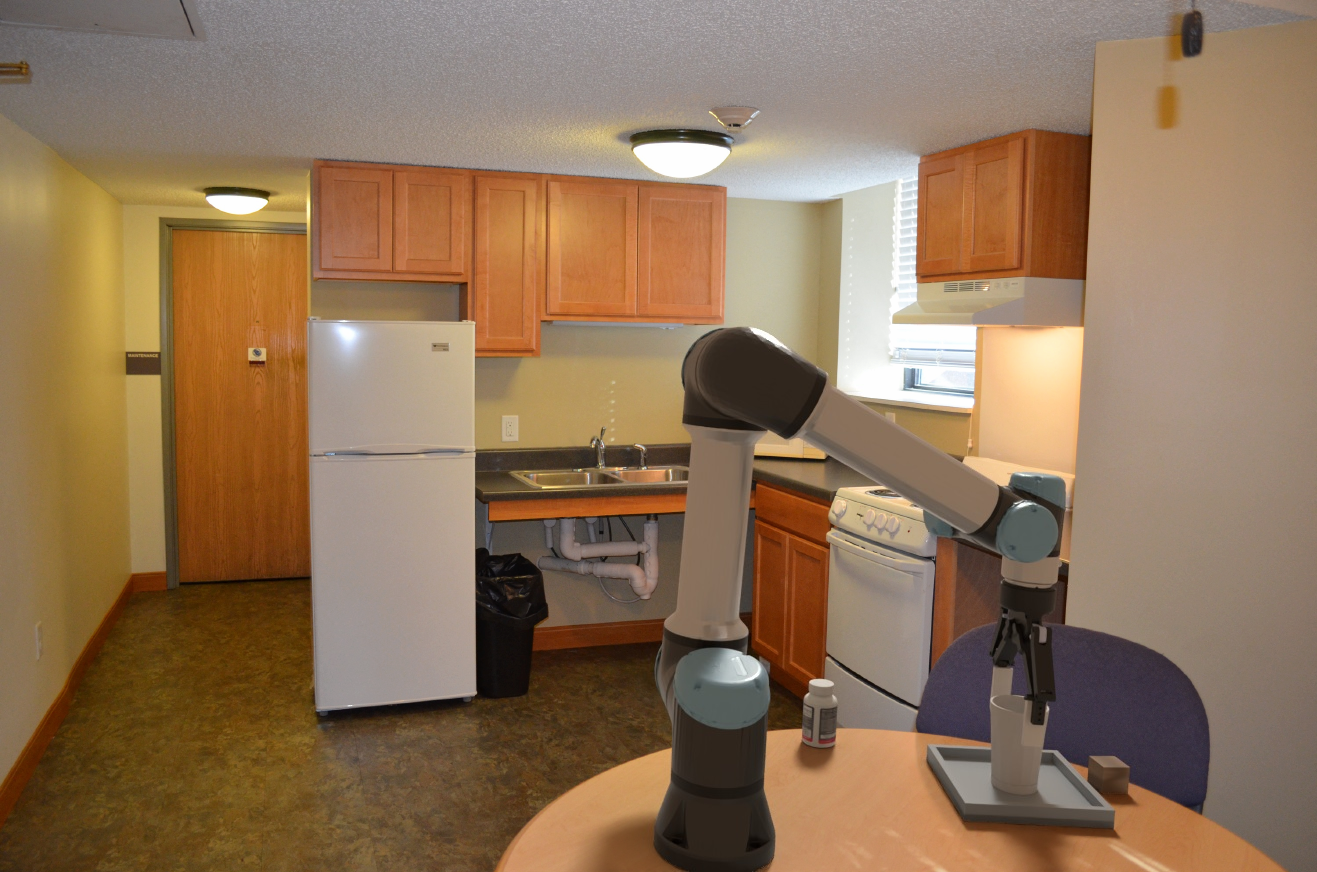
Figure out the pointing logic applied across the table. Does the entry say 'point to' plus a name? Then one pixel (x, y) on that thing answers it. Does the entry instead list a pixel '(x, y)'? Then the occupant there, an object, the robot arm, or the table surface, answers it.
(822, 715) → the pill bottle
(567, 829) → the table surface
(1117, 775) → the walnut block
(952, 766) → the tray
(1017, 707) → the cup
